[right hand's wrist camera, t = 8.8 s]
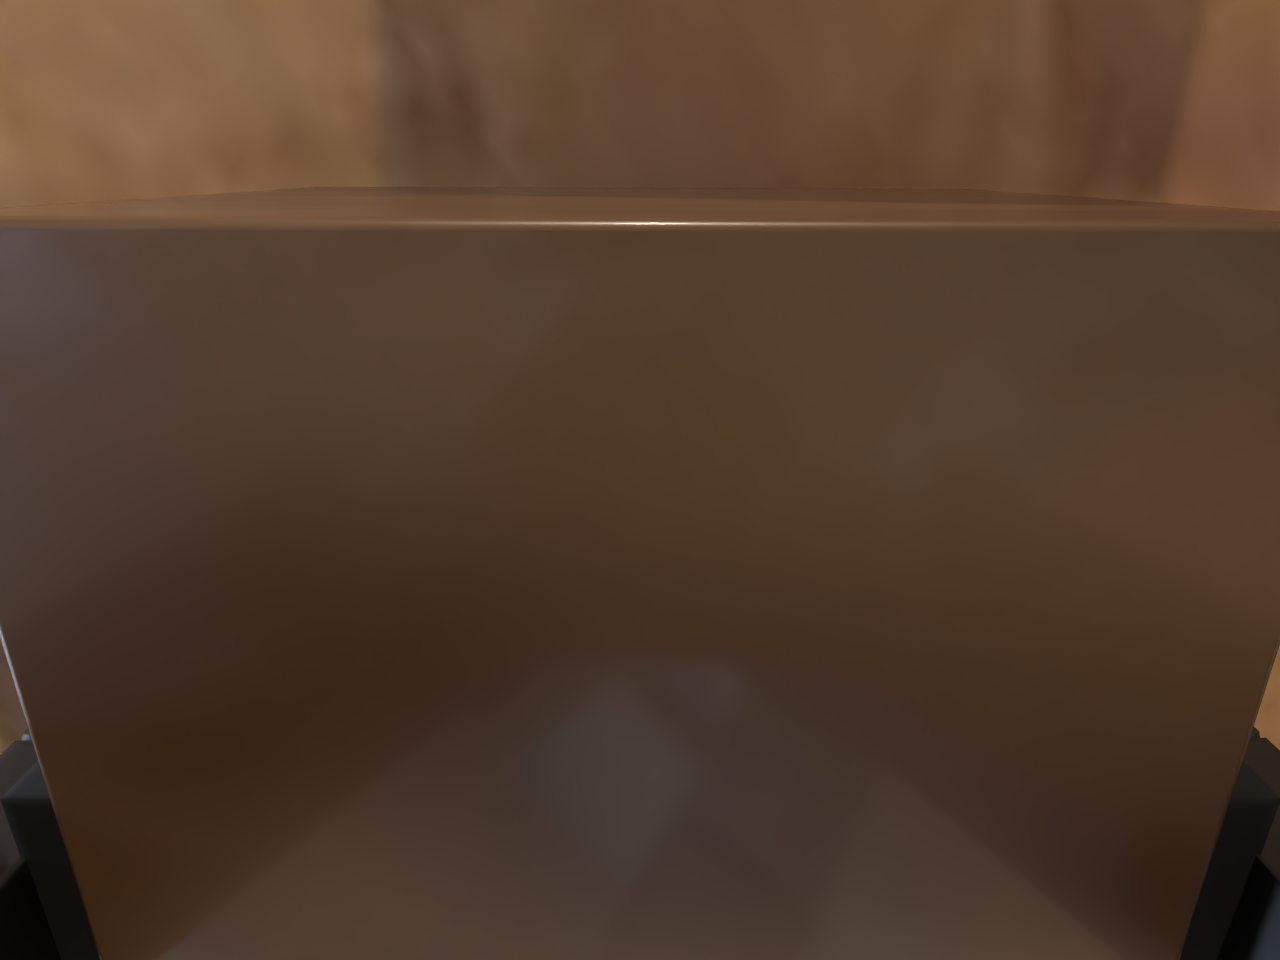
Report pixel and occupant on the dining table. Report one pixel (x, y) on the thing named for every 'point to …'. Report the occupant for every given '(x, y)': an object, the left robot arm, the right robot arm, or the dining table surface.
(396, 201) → the thick board
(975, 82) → the dining table surface
